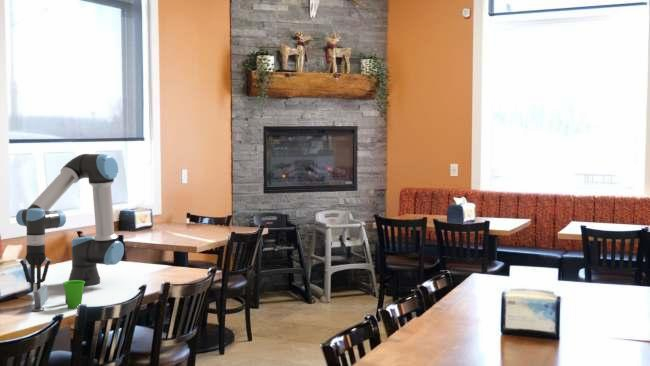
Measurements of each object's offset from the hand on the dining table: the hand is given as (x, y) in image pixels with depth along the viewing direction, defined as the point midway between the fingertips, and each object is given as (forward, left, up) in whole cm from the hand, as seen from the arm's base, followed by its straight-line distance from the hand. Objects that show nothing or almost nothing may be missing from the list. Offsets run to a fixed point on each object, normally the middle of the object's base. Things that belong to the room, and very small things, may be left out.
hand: (35, 298), depth 336 cm
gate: (+1, +4, -2) cm, 5 cm away
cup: (-4, +18, -3) cm, 19 cm away
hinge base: (+8, +8, -3) cm, 12 cm away
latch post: (-8, +11, -3) cm, 14 cm away
